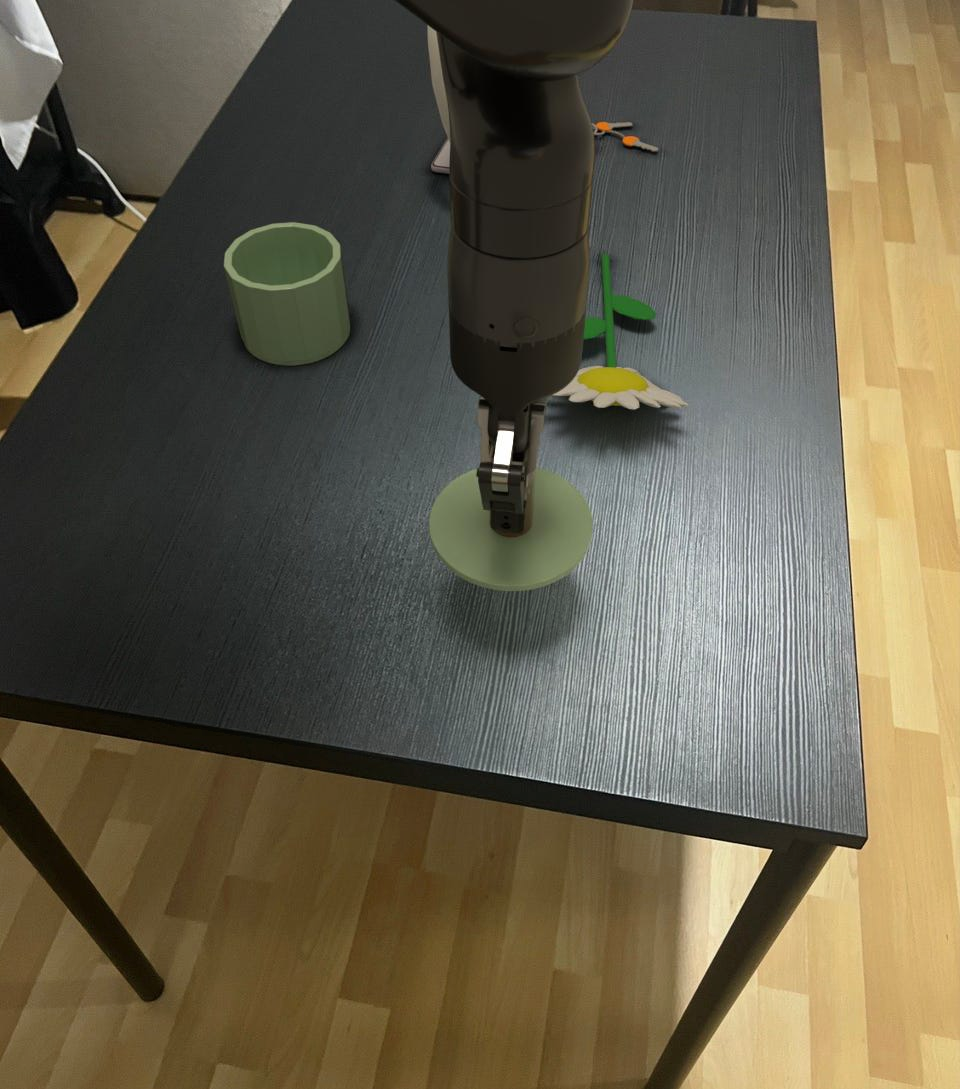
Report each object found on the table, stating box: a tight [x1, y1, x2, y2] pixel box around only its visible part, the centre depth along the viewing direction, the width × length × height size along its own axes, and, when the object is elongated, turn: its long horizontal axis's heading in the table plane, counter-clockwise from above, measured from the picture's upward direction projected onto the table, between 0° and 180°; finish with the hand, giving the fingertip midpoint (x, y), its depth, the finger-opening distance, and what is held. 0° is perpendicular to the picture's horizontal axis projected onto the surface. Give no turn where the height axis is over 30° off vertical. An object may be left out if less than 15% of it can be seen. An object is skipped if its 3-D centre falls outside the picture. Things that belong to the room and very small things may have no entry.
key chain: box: [592, 121, 660, 153], centre depth 118 cm, size 13×7×1 cm, turn 88°
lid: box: [428, 447, 594, 592], centre depth 66 cm, size 11×11×7 cm
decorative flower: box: [552, 253, 690, 411], centre depth 92 cm, size 13×5×30 cm
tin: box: [223, 221, 352, 367], centre depth 93 cm, size 10×10×8 cm
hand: (511, 508), depth 67 cm, fingers closed on lid, 3 cm apart
